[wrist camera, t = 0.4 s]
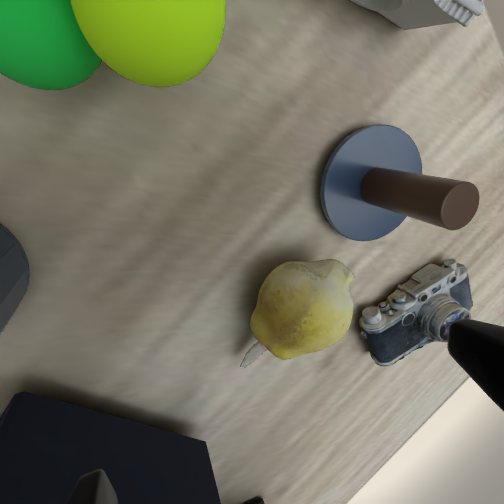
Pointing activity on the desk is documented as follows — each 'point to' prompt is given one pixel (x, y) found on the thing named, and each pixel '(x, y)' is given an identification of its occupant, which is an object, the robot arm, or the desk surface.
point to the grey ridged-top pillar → (425, 11)
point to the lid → (388, 187)
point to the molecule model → (108, 40)
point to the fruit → (301, 309)
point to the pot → (11, 275)
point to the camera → (417, 312)
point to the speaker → (96, 456)
